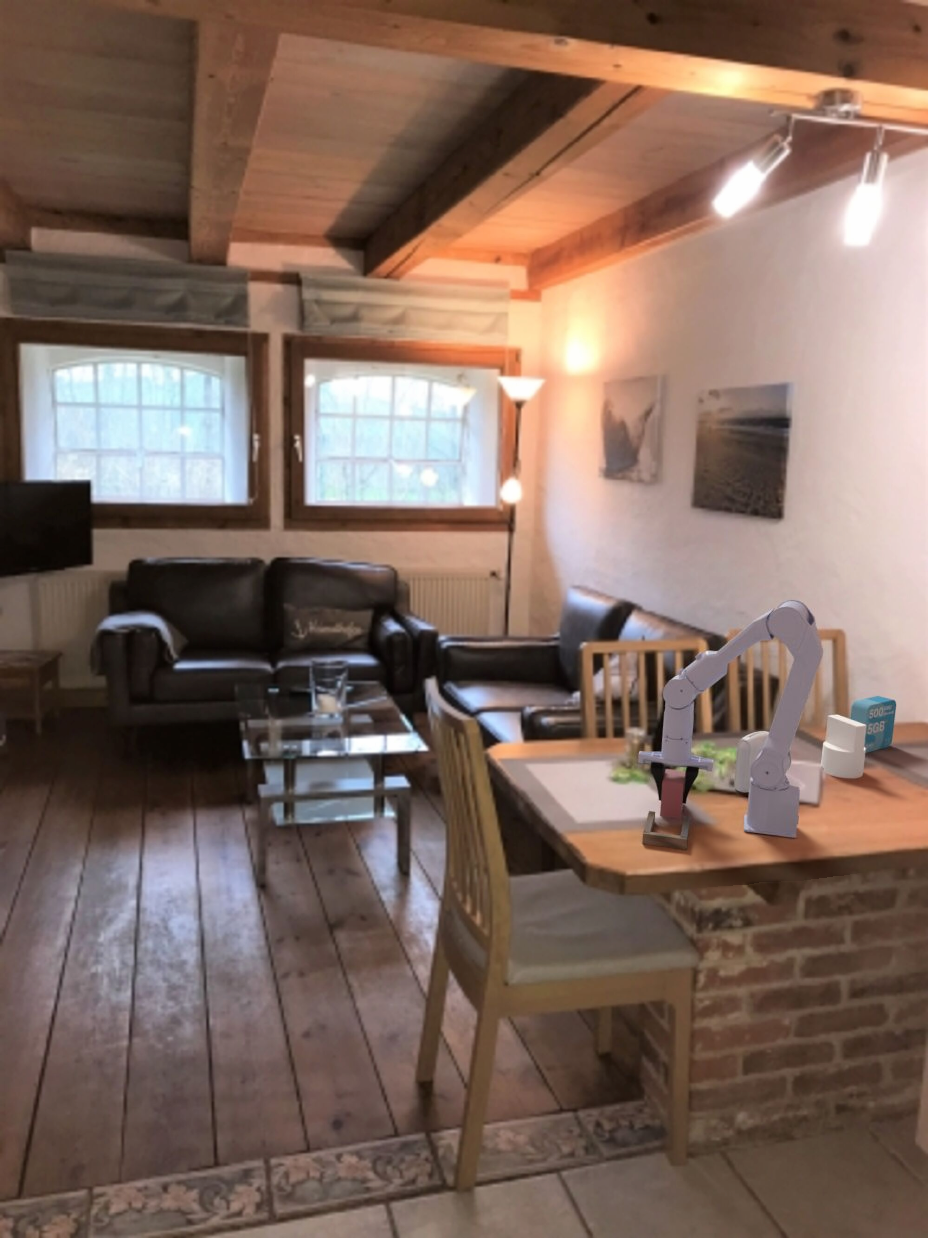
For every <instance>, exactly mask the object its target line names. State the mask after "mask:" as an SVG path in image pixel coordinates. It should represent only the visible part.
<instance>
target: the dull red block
mask: <svg viewBox="0 0 928 1238" xmlns="http://www.w3.org/2000/svg"><path fill="white" fill-rule="evenodd" d="M685 772H686V770H680V769H679V770H678V769H671V768H665V769H664V778H663V782H662V795H661V801H660V811H659V816H660V817H667V818H668V817H669V818H675V819H676V818H677V819H681V818H682V812H683V809H684V804H683V803H682V801H683V794H684V787H685Z"/></svg>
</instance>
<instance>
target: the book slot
mask: <svg viewBox="0 0 928 1238" xmlns="http://www.w3.org/2000/svg"><path fill="white" fill-rule="evenodd" d="M655 819H656V811H653V810H649V811H648V814H647V817H646V821H645V824H644V827H643V832H642V839H641V840H642V843H641V844H643V845H644V844H645V845H648V846H658V847H664V848H672V849H678V850H684V851H685V850H687V845H688V841H689V840H688V838H689V834H690V827H691V815H684V816H683V820H682V824H681V832H680V835H678V834H677V835H676V834H668V833H662V832H653V829H654V825H655V821H656V820H655Z"/></svg>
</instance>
